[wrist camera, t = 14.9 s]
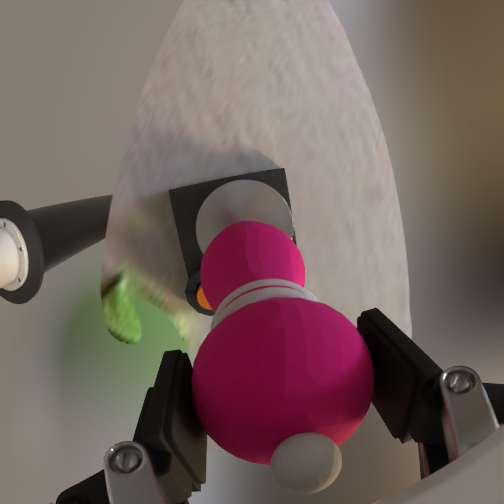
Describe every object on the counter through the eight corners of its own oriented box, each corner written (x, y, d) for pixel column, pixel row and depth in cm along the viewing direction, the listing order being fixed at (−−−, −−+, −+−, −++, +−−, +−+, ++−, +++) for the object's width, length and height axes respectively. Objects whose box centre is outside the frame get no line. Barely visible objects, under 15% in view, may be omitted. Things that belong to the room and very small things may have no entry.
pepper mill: (297, 222, 23) (496, 362, 4) (279, 301, 25) (369, 513, 6) (212, 207, 22) (135, 361, 3) (199, 289, 24) (159, 524, 5)
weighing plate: (207, 281, 33) (207, 284, 32) (187, 190, 30) (186, 190, 29) (297, 263, 34) (299, 265, 33) (283, 172, 31) (285, 172, 30)
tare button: (201, 305, 34) (200, 311, 32) (195, 282, 33) (193, 287, 32) (226, 301, 34) (226, 307, 33) (220, 277, 33) (220, 282, 32)
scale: (195, 308, 37) (192, 319, 34) (166, 190, 33) (161, 192, 30) (300, 288, 38) (305, 296, 35) (282, 168, 33) (287, 167, 31)
